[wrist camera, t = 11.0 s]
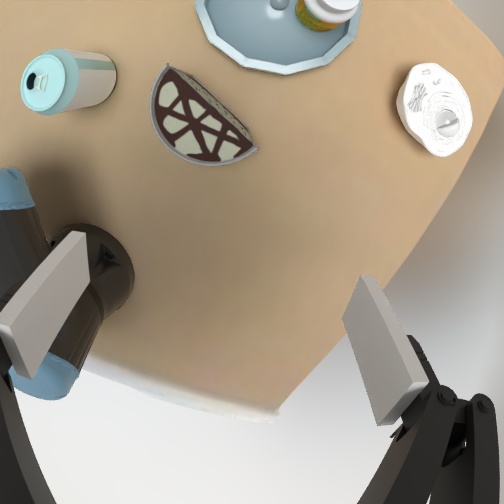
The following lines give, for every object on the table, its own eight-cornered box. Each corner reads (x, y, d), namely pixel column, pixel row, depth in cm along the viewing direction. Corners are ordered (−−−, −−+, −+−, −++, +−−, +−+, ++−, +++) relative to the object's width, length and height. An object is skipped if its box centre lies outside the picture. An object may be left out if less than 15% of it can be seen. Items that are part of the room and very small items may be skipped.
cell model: (430, 53, 30) (459, 51, 24) (460, 132, 35) (489, 142, 29) (371, 77, 33) (394, 77, 27) (407, 159, 38) (432, 174, 32)
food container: (149, 104, 34) (118, 111, 25) (183, 67, 32) (162, 61, 23) (220, 170, 39) (212, 196, 30) (257, 136, 37) (260, 152, 28)
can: (80, 114, 34) (27, 130, 23) (65, 70, 31) (8, 72, 20) (125, 90, 33) (79, 96, 23) (108, 44, 30) (59, 34, 19)
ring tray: (187, 60, 32) (182, 58, 29) (218, -62, 23) (216, -71, 21) (337, 89, 33) (343, 89, 31) (362, -31, 25) (369, -38, 22)
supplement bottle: (287, 21, 29) (300, 0, 20) (304, -14, 26) (322, -42, 18) (329, 40, 30) (356, 27, 21) (346, 6, 27) (376, -15, 19)
